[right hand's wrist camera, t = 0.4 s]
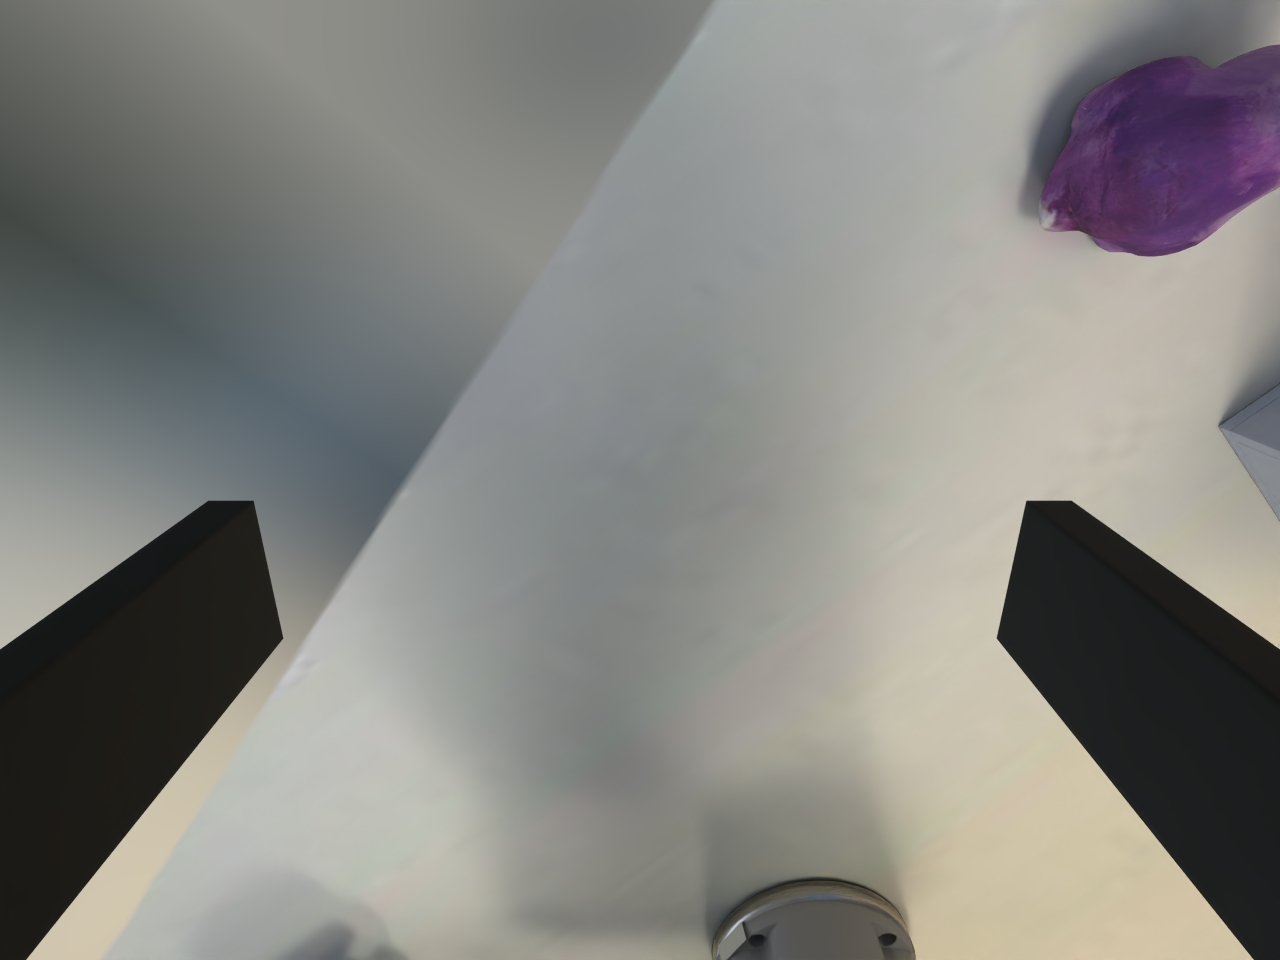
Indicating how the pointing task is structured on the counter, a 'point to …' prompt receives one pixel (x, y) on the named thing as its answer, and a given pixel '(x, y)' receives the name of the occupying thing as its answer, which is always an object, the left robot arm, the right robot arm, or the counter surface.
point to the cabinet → (1259, 443)
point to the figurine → (1168, 153)
